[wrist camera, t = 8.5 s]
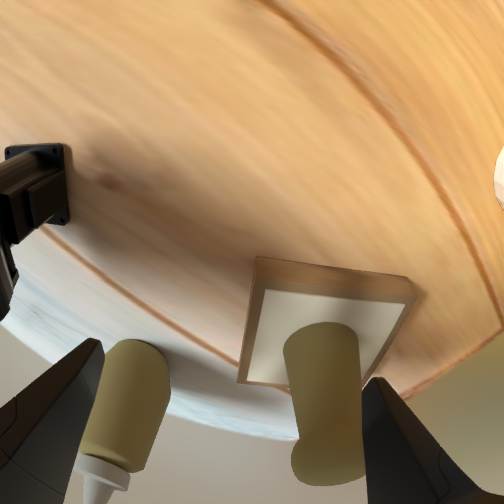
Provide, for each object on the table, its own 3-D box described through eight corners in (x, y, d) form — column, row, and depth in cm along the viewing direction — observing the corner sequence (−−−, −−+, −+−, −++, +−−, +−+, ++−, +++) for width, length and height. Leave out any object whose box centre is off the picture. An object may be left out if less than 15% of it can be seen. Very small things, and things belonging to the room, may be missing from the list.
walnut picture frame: (239, 362, 28) (236, 384, 25) (256, 256, 22) (255, 278, 19) (356, 370, 28) (361, 391, 26) (406, 276, 22) (417, 297, 20)
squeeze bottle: (166, 388, 31) (132, 531, 16) (102, 359, 30) (48, 498, 14) (189, 352, 27) (149, 535, 12) (111, 317, 26) (35, 490, 10)
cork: (362, 360, 23) (387, 480, 14) (294, 377, 25) (298, 496, 15) (351, 312, 20) (386, 456, 11) (271, 334, 22) (269, 478, 12)
